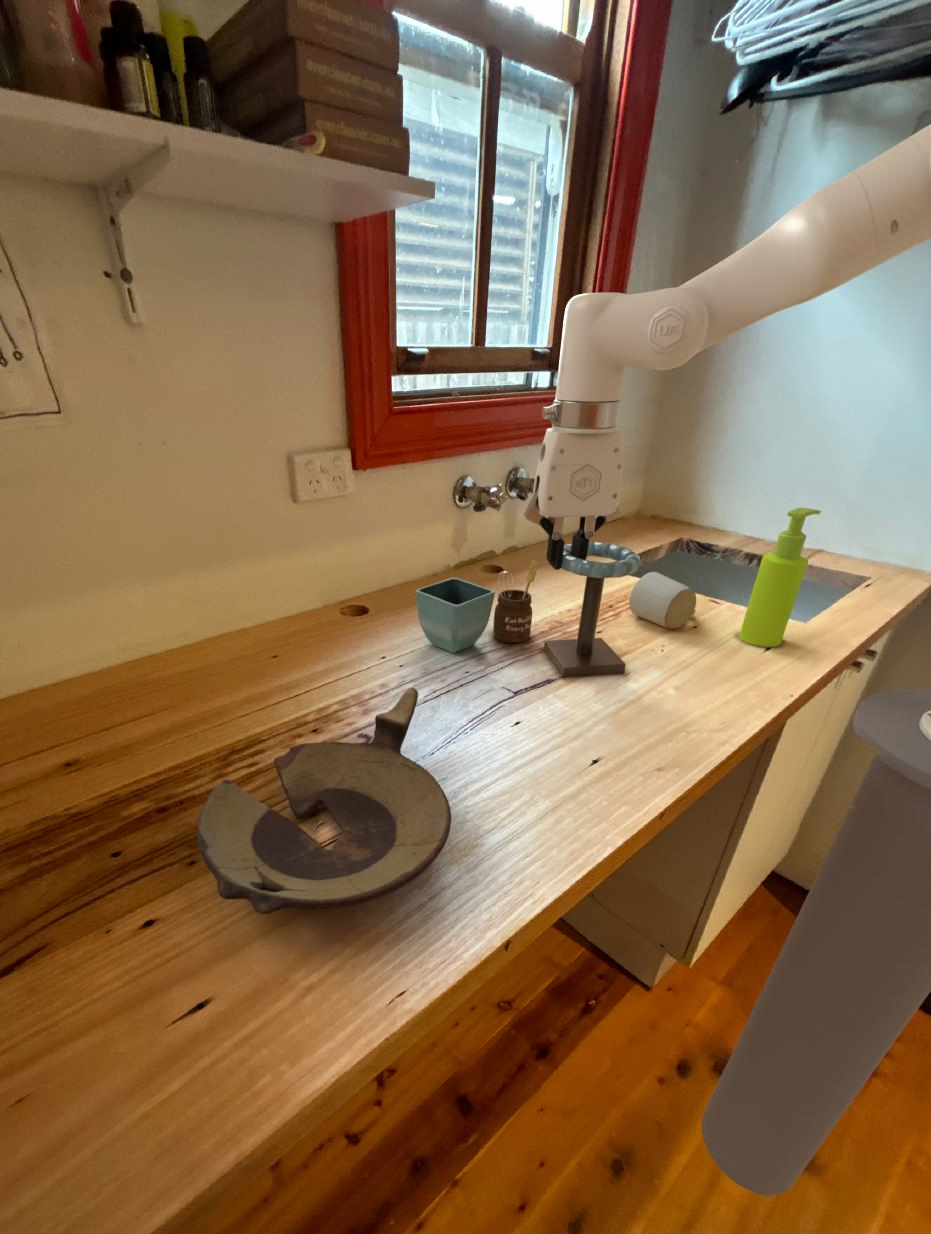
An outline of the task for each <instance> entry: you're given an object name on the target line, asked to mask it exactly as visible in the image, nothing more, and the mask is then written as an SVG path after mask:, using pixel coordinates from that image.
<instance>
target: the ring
mask: <svg viewBox="0 0 931 1234" xmlns="http://www.w3.org/2000/svg"><path fill="white" fill-rule="evenodd" d="M571 546H572V543H568V544H564V551H563V558H562V566H561V569H562V570H563V571H565V572H568V573H572V574H575V575H578V576H582V577H587V576H588V577H595V578H605V579H616V578H624V577H627V576H630V575H632V574H635V573H636V572H638V571H639V567H640V565H641V556H640V555H639V554H637V553H636V552H635V551H633V550H631V548H628V547H624V546H621V545H619V544H618V545H617V544H614V543H607V542H597V541H589V545H588V551H587V557H593V558H602V559H609V560H613V561H596V560H595V561H594V560H589V559H588V560H587V559H586V560H583V559H579V558H576V557H573V556H571V555H570V553H571Z"/></svg>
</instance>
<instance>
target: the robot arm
mask: <svg viewBox="0 0 931 1234" xmlns="http://www.w3.org/2000/svg"><path fill="white" fill-rule="evenodd" d="M930 239H931V123H930V124H929V125H927V126H925V127H923V128H922V129H920V130H918V131H917V132H915V133H914V134H912V135H910V136H909V137H907V138H906V139H904V140H903V141H900V142H899V143H897V144H895V145H894V146H892V147H891V148H889V149H887V150H886V151H884V152H882V153H881V154H879V155H877V156H875V157H874V158H873V159H871V160H869V161H868V162H866V163H864V164H862V165H861V166H859V167H857V168H856V169H854V170H852V171H851V172H849V173H847V174H845V175H844V176H842V177H841V178H839V179H837V180H835V181H833V182H832V183H830V184H828V185H827V186H825V187H823V188H821V189H819V190H817V192H815V193H813V194H812V195H810V196H809V197H807V198H806V199H804V200H803V201H802V202H800V203H799V204H798V205H796V206H794V207H793V208H792V209H791V210H789V211H787V212H786V213H785V214H784V215H782V217H780V218H779V219H778V220H777V221H776V222H774V224H772V225H770V227H769V228H767V229H766V230H765V231H764V232H762V233H761V234H760V235H758V236H757V237H756V238H755V239H753V240H752V241H750V242H749V243H747V244H746V245H744V246H743V247H742V248H740V249H738V250H737V251H735V252H734V253H732V254H731V255H729V256H727V257H726V258H724V259H722V260H721V261H719V262H718V263H716V264H714V265H713V266H711V267H710V268H708V269H706V270H705V271H703V272H701V273H699V274H698V275H696V276H694V277H692V278H691V279H690V280H688V281H686V282H684V283H682V284H681V285H679V286H678V287H677V286H676V287H668V288H667V287H666V288H661V289H656V290H651V291H646V292H640V293H633V294H632V293H630V294H627V293H623V292H587V293H582V294H581V293H580V294H577V295H574V296H573V297H571V298H570V299H569V300H568V302H567V304H566V307H565V309H564V310H565V311H564V316H563V323H562V324H563V326H562V333H561V344H560V352H559V363H558V370H557V381H556V388H555V399H553V401H552V405H549V406H543V408H542V411H541V417H542V419H543V420H547V421H550V424H551V427H548V428H546V431H545V434H544V436H543V441H542V444H541V449H540V452H539V456H538V461H537V466H536V470H535V476H534V477H535V478H534V483H533V489H532V490H533V491H532V497H531V499H530V502H529V503H528V506H527V507H526V509H525V511H524V514H523V517H524V519H526V520H527V521H529V522H531V523H533V524H535V525H537V526H539V527H541V528H542V529H543V530H544V532H545V534H547V536H548V540H547V548H546V560H547V562H548V564H549V565H550V566H551V568H553V569H554V570H556V571H559V570H561V569H562V568H561V566H562V558H563V551H564V545H565V543H566V542H565V540H564V539H563V528H564V522H565V518H578V523H577V530H576V532H574V533H573V534H572V540H571V544H572V546H571V553H570V555H571V556H573V557H576V558H579V559H583V560H587V551H588V545H589V542H590V539H592V538H594V536H595V533H596V532H597V531H598V530H600V528H601V527H602V526H604V525H605V524H606V523H610V522H611V521H613V520H615V519H617V518H619V517H620V515H621V509H620V506H619V504H620V499H621V498H620V497H621V490H622V481H623V471H624V470H623V469H624V430H623V429H620V428H617V425H618V419H619V413H620V406H621V401H622V394H623V389H624V381H625V376H626V369H627V367H635V368H640V369H641V368H642V369H646V370H652V371H669V370H673V369H676V368H679V367H680V366H682V365H684V364H686V363H687V362H688V361H690V360H691V359H692V358H693V357H694V356H695V355H697V354H698V353H700V352H702V351H704V350H706V349H708V348H709V347H712V346H713V345H715V344H717V343H718V342H720V341H722V340H724V339H726V338H728V337H730V336H731V335H733V334H735V333H737V332H739V331H741V330H743V329H745V328H747V327H749V326H751V325H753V324H755V323H758V322H759V321H761V320H763V319H766V318H767V317H769V316H772V315H774V314H776V313H779V312H781V311H784V310H787V309H789V308H793V307H795V306H799V305H801V304H804V303H807V302H809V301H812V300H814V299H816V298H819V297H820V296H822V295H824V294H827V293H829V292H831V291H833V290H835V289H837V288H839V287H841V286H843V285H845V284H846V283H848V282H850V281H852V280H854V279H856V278H858V277H860V276H861V275H863V274H865V273H867V272H869V271H871V270H873V269H875V268H877V267H878V266H880V265H883V264H884V263H886V262H888V261H889V260H892V259H894V258H896V257H897V256H900V255H901V254H903V253H905V252H907V251H909V250H911V249H913V248H915V247H917V246H919V245H920V244H923V243H924V242H927V241H929V240H930ZM540 512H541V513H542V514H541V513H540ZM919 727H920V730H921V731H922V733H923V734H924V735H925V736H926V737H927V738H928V739H929V740H930V741H931V710H930V711H927V712H926V713H924V714H923V716H922V718H921V719H920V722H919Z"/></svg>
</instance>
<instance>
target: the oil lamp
mask: <svg viewBox="0 0 931 1234" xmlns="http://www.w3.org/2000/svg"><path fill="white" fill-rule="evenodd" d="M401 695H402V696H401V697H400V698H399V700H398V701H397V703H396V704H395V705H394V706H393V707H392V708H391V709H390V710H388V711H386V712H381V713H378V714H376V715H375V718H374V721H375V727H374V731H373V734H374V735H373V738H372V740H371V741H370V742H365V741H363V742H342V741H321V742H308V743H307V742H306V743H305V742H304V743H300V744H298V745H293V746H291V747H290V748H289V750H288V751H287V752H286V753H284V754H283V755H278V756H277V757H275V758H274V759H273V764H274V766H275V769H276V770H275V771H276V773H277V775H278V777H279V781H280V782H281V786H282V789H283V790H284V795H285V796H286V797H287V800H288V803H289V808H290V809H291V811H292V814H293V816H294V817H295V820H297V821H298V820H302V819H304V818H306V817H307V816H310V815H311V814H312V813H313V812H315V811H316V810H317V809H318V808H319V805H322V804H323V805H324V806H325V808H326V810H327V812H328V814H330V816H331V818H332V819H333V821H334V822H335V823H336V824H337V825H338V826H339V827H340V829H341V830H342V832H341V833H340V835H339V836H338V838H337V839H336V841H335V844H334V845H333V847H332V848H331V849H326V848H325V847H323V846H322V845H321V844H320V843H319V842H318V840H317V839H314V838H313V837H312V836H311V835H309V833H307V832H306V830H304V829H302V827H300V826H299V825H298V824H296V823H295V822H294V821H292V820H290V819H289V817H286V816H284V815H283V814H282V813H280V812H278V811H276V810H274V809H273V808H271V807H269V806H267V805H266V804H265V803H263V802H260V801H258V800H256V799H255V798H254V797H253V796H252V795H251V794H250V793H248V792H246V791H244V790H243V789H242V788H241V787H240V786H238V784H236V783H235V782H234V781H233V780H230V779H222V780H221V782H220V783H219V784H218V785H217V786H216V787H215V788H213V789H212V790H211V792H210V793H208V795H207V797H206V799H205V801H204V803H203V805H202V808H201V809H200V811H199V814H198V816H197V817H198V818H197V826H196V835H197V838H196V839H197V844H198V848H199V851H200V854H201V857H202V860H203V862H204V863H205V865H206V867H207V869H208V870H209V871H210V872H211V874H212V875H213V876H214V878H215V880H216V882H217V887H216V888H217V894H218V895H219V896H220V897H221V898H222V899H224V900H247V901H249V902H250V903H251V905H252V907H253V910H255V912H256V913H258V914H261V915H270V914H272V913H275V912H278V911H281V910H284V909H286V910H287V909H288V910H289V909H290V910H291V909H294V910H303V911H310V910H311V911H318V910H319V911H321V910H335V909H342V908H347V907H352V906H357V905H362V904H364V903H368V902H371V901H373V900H377V899H379V898H381V897H385V896H387V895H390V894H391V893H394V892H396V891H397V890H399V889H401V888H403V887H404V886H406V885H408V884H409V883H411V882H412V881H414V880H415V879H417V878H418V877H420V876H421V875H422V874H423V873H424V872H425V871H426V870H428V869H429V867H430V866H431V865H432V864H433V863H434V862H435V860H436V859H437V858H438V856H439V855H440V854H441V852H442V850H443V849H444V847H445V845H446V843H447V840H448V838H449V835H450V832H451V826H452V810H451V806H450V802H449V800H448V797H447V795H446V793H445V790H444V789H442V786H441V784H440V783H439V782H438V781H437V779H436V778H435V777H434V776H433V774H431V773H430V772H429V771H428V770H427V769H425V767H423V766H421V764H419V763H417V762H416V761H415V760H412V759H410V758H409V757H406V756H405V755H404V754H402V752H401V749H402V745H403V743H404V741H405V739H406V736H407V733H408V730H409V728H410V725H411V721H412V719H413V716H414V714H415V709H416V706H417V703H418V699H419V691H418V690H417V688H415V687H410V688H408V689H406V690H405V691H404V693H402V694H401ZM324 822H325V820H319V822H318V823H317V824H316V825H315V826H314V828H313V831H315V830H316V828H317V827H318V826H319V825H321V824H322V823H324Z"/></svg>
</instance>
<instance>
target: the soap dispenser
mask: <svg viewBox="0 0 931 1234" xmlns="http://www.w3.org/2000/svg"><path fill="white" fill-rule="evenodd" d="M821 512H822V511H821V510H818V509H813V508H809V507H798V508H795V509H792V510H789V511H788V512H787V515H786V516H787V517H791V518H790V521H789V524H788V528H787V529H786V530H784V531H781V532H779V535H778V538H777V541H776V545H775V548H774V551H773V552H766V553H764V554H763V555H762V558H761V562H760V565H759V567H758V571H757V575H756V578H755V580H754V585H753V588H752V591H751V595H750V597H749V601H748V604H747V608H746V611H745V614H744V618H743V620H742V625H741V628H740V631H739V634H738V636H739V638H740V640H742V641H743V642H745V643H747V644H750V645H753V646H757V647H763V648H774V647H778V646H780V645H781V643H782V641H783V638H784V634H785V632H786V629H787V626H788V623H789V620H790V618H791V614H792V611H793V608H794V605H795V603H796V599H797V597H798V593H799V590H800V587H801V584H802V582H803V579H804V576H805V572H806V570H807V567H808V564H809V559H808V558H806V557H804V556H801V554H802V551H803V548H804V546H805V542H806V538H807V535H806V534H804V532H802V530H803V527H804V524H805V521H806V517H809V516H812V515H820V514H821Z"/></svg>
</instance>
